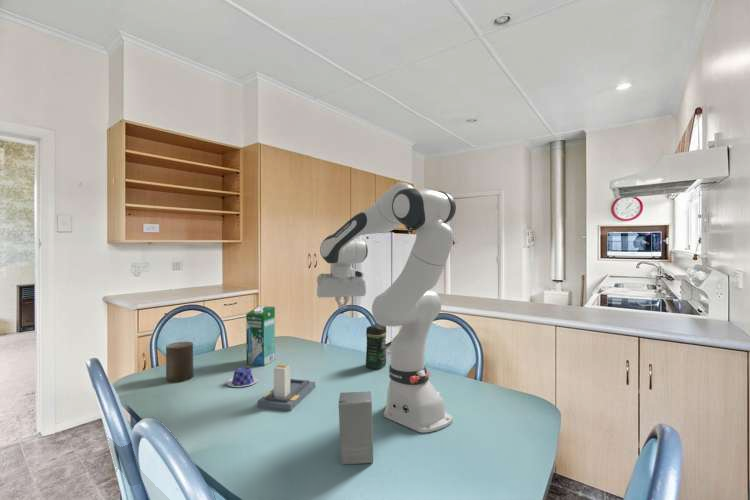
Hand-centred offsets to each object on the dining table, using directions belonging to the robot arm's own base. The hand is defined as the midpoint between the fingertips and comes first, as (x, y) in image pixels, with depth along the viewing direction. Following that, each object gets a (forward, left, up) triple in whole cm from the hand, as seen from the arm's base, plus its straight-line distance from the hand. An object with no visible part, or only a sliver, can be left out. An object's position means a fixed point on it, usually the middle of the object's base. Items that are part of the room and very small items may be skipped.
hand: (342, 308), depth 142 cm
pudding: (+21, +33, -29) cm, 49 cm away
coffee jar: (+6, -21, -29) cm, 36 cm away
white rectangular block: (-5, +26, -26) cm, 38 cm away
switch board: (-2, +23, -29) cm, 37 cm away
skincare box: (-47, +23, -29) cm, 60 cm away
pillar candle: (+40, +52, -29) cm, 72 cm away
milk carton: (+41, +19, -29) cm, 54 cm away
